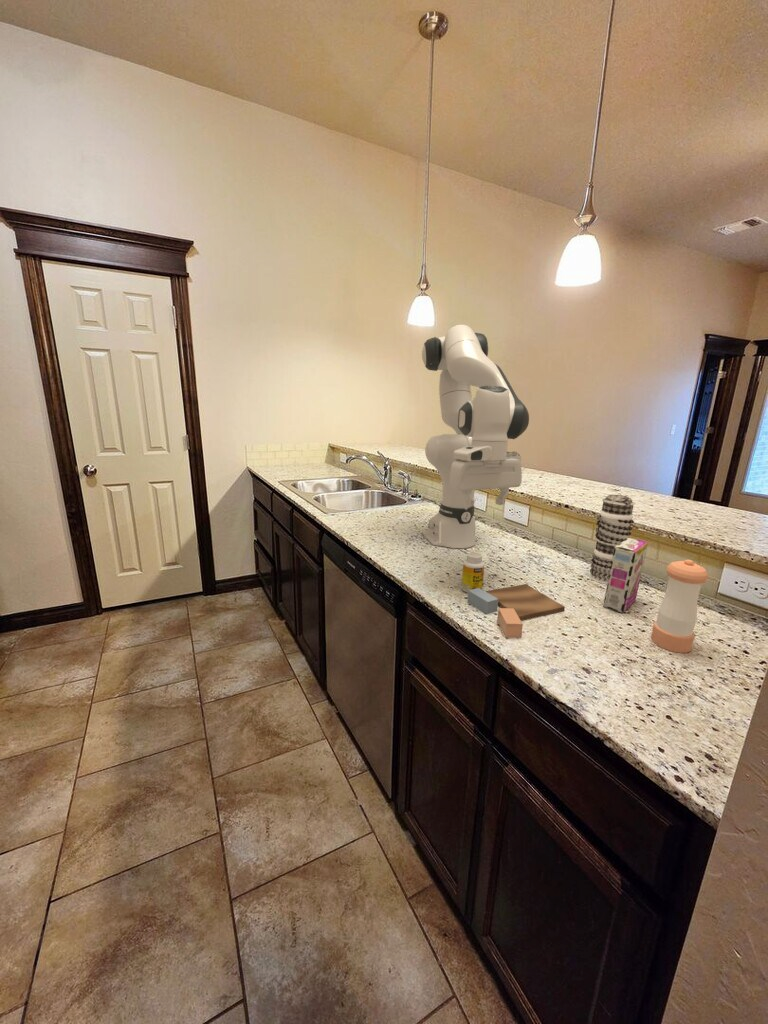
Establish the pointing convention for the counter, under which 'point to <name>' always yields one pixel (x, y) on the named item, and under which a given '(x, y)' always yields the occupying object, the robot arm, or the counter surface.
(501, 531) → the counter surface
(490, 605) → the brick blue
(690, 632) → the pepper shaker
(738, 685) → the counter surface
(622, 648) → the counter surface
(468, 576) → the supplement bottle
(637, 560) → the candy bar box
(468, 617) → the counter surface
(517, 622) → the brick terracotta
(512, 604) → the board
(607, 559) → the decorative candle
